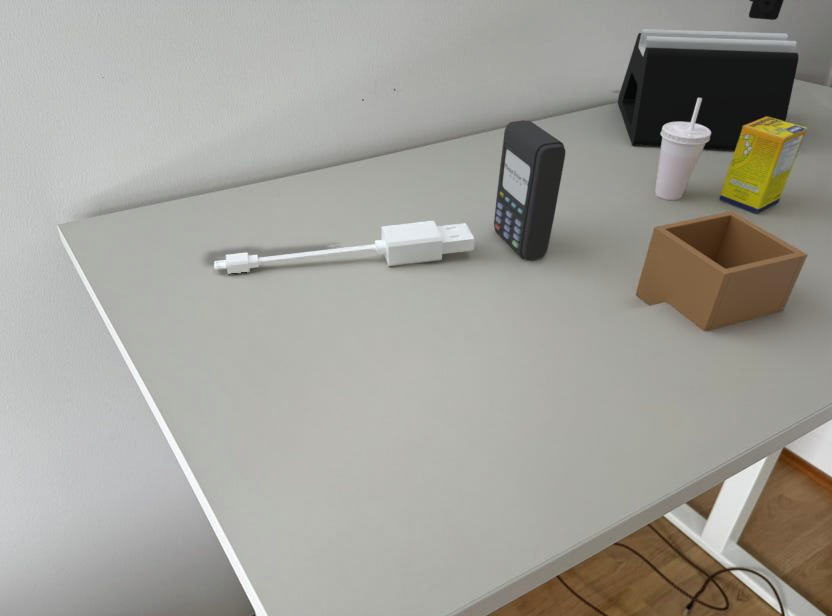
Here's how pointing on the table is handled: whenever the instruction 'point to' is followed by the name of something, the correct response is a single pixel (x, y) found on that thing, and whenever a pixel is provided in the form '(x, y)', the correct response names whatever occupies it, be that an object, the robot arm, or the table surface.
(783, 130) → the supplement box
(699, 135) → the smoothie
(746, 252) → the open box
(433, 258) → the charging cable
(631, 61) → the device stand
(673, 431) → the table surface
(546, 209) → the card reader
